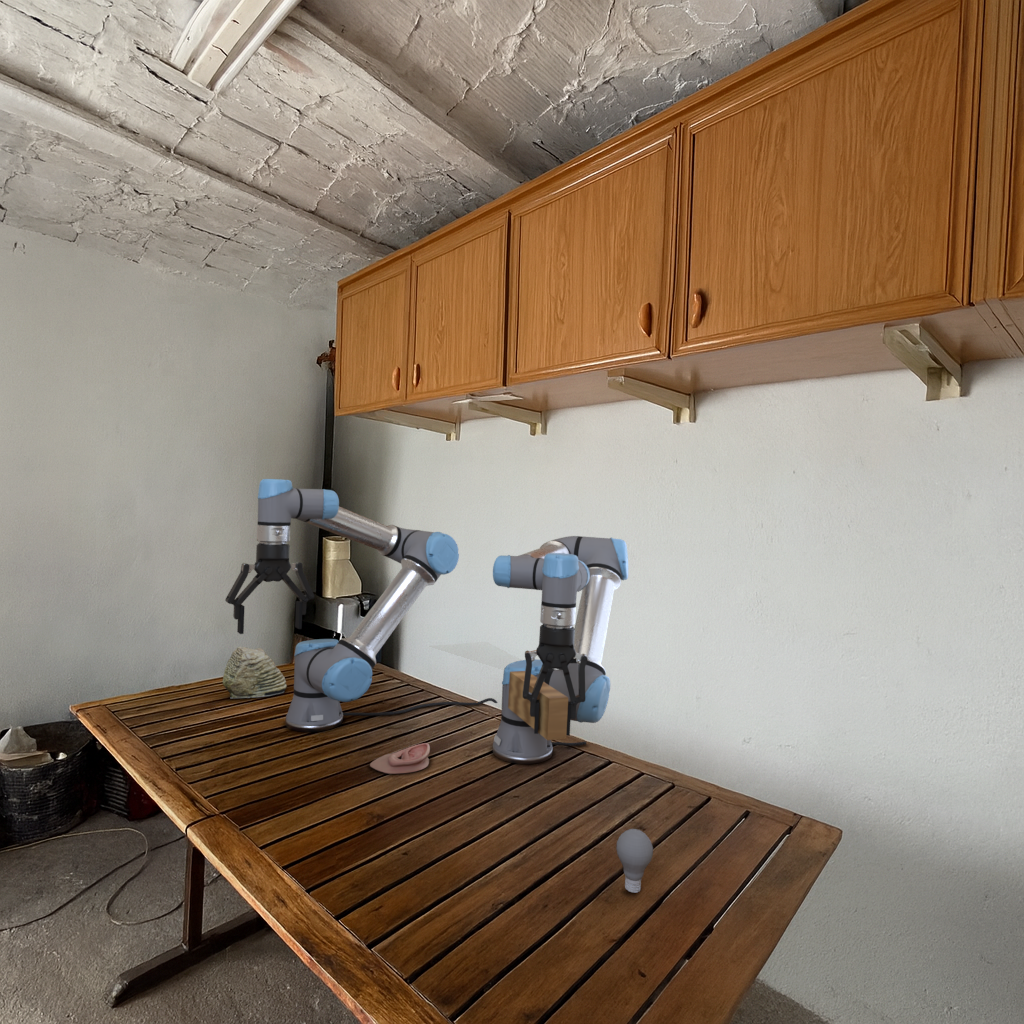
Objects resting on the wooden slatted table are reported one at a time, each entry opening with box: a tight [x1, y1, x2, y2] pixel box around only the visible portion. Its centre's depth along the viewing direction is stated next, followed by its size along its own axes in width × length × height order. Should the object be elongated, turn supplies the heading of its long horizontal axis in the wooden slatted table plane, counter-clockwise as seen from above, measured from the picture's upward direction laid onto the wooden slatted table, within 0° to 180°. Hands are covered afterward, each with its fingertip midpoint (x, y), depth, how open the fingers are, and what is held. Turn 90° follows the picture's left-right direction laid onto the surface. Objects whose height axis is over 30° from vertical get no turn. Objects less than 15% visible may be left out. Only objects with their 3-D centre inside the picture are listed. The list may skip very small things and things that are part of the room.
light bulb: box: [615, 828, 654, 894], centre depth 106 cm, size 6×6×10 cm
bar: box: [508, 671, 568, 741], centre depth 144 cm, size 22×4×9 cm, turn 22°
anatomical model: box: [369, 742, 431, 775], centre depth 151 cm, size 13×4×12 cm
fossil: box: [222, 646, 288, 699], centre depth 198 cm, size 9×18×15 cm, turn 132°
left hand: (270, 630), depth 153 cm, fingers open, 13 cm apart
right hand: (551, 732), depth 136 cm, fingers closed on bar, 6 cm apart
